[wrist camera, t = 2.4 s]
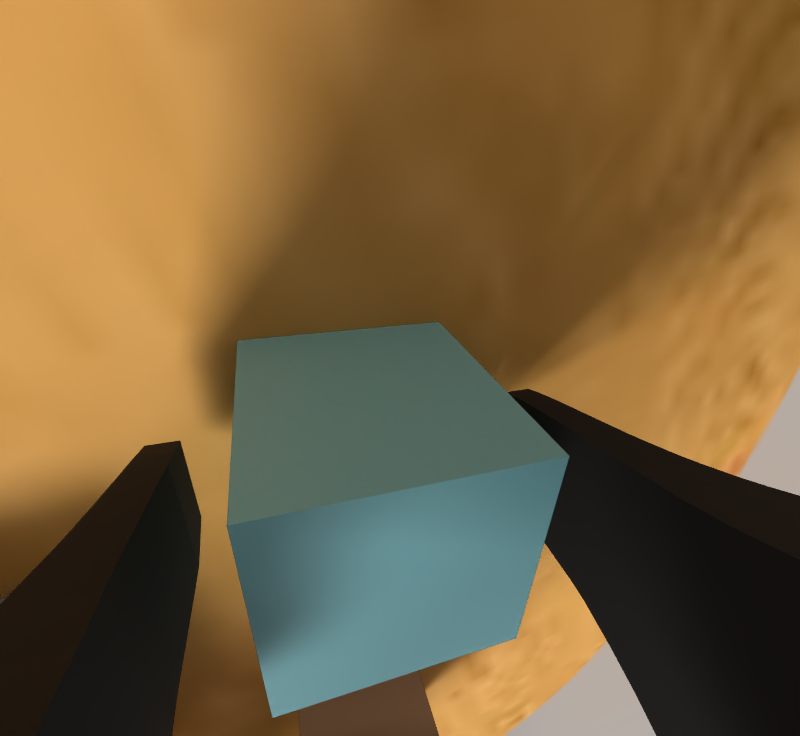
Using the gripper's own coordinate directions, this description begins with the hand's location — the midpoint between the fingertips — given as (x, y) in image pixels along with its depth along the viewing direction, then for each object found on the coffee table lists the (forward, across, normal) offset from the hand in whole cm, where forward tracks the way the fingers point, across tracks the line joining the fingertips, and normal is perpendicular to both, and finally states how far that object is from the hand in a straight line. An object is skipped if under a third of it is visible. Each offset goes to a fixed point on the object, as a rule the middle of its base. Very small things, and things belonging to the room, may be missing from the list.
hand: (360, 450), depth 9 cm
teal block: (+2, 0, 0) cm, 2 cm away
